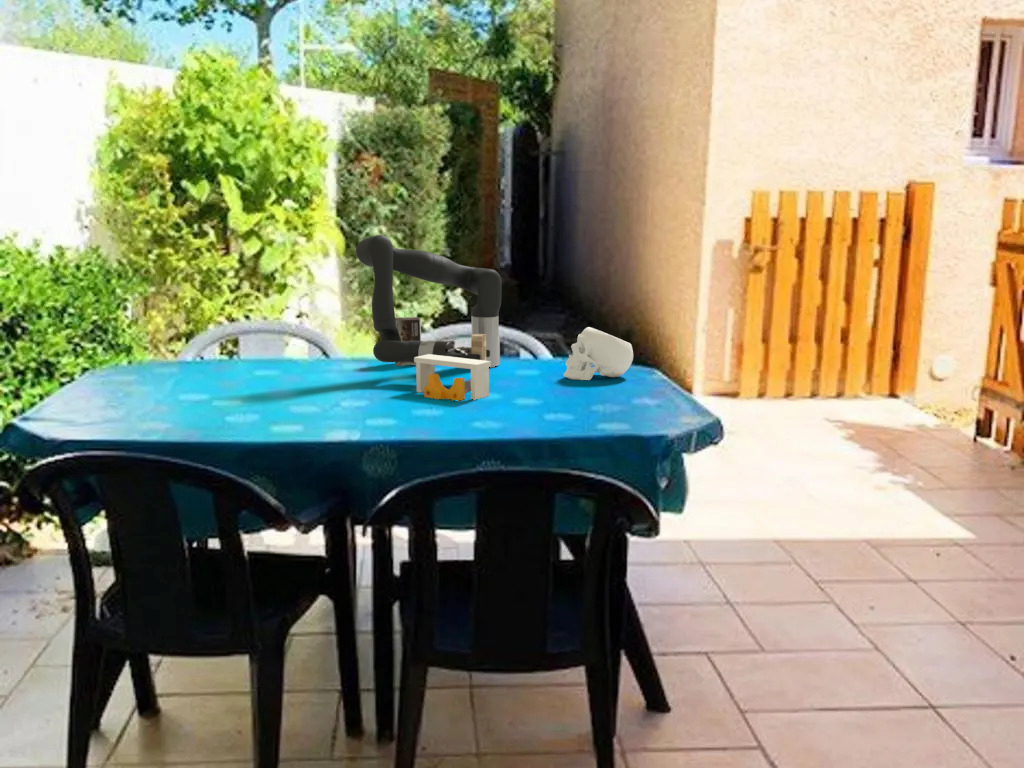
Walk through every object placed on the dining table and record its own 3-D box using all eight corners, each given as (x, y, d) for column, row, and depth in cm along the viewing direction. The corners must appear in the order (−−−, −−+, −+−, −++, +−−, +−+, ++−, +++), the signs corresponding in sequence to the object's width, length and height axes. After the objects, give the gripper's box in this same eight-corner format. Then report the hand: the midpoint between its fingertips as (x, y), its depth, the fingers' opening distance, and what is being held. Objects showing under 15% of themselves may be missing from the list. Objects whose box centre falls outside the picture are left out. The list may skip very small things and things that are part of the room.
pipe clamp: (424, 397, 299) (423, 375, 298) (434, 394, 303) (434, 373, 301) (454, 402, 292) (454, 380, 291) (464, 400, 295) (464, 378, 294)
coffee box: (422, 362, 356) (421, 316, 353) (421, 365, 350) (420, 319, 347) (396, 362, 356) (395, 316, 353) (394, 366, 350) (393, 319, 347)
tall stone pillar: (475, 384, 317) (475, 333, 314) (486, 385, 316) (486, 334, 313) (450, 397, 298) (449, 343, 295) (461, 398, 297) (460, 344, 294)
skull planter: (553, 368, 334) (581, 317, 332) (606, 395, 338) (633, 344, 336) (561, 376, 321) (589, 322, 318) (615, 403, 325) (644, 351, 322)
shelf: (429, 387, 312) (428, 354, 310) (491, 396, 300) (490, 361, 298) (414, 391, 306) (414, 357, 304) (477, 400, 294) (477, 364, 292)
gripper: (426, 344, 310) (477, 347, 305) (444, 337, 323) (493, 340, 318) (427, 368, 311) (477, 371, 306) (444, 361, 325) (493, 363, 320)
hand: (485, 355), depth 312 cm, fingers open, 8 cm apart
